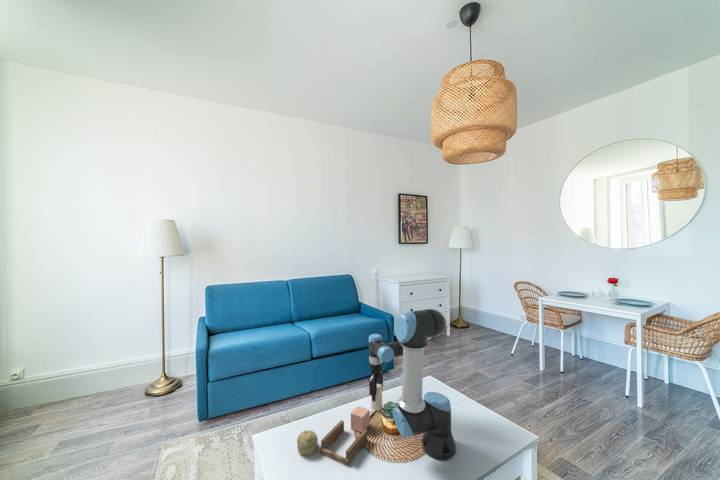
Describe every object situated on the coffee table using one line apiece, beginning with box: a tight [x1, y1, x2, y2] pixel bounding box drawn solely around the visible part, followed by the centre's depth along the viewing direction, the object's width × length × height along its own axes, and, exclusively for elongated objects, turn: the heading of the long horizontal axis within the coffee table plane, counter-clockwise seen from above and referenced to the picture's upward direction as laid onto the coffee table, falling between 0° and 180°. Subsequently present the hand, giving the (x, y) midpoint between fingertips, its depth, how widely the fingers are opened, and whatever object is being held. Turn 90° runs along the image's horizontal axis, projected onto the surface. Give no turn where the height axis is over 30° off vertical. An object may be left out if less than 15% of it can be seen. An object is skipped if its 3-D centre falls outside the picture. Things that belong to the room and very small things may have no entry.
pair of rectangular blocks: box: [350, 383, 383, 433], centre depth 149 cm, size 7×24×13 cm, turn 149°
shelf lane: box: [319, 419, 368, 467], centre depth 129 cm, size 15×17×5 cm
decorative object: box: [296, 429, 319, 457], centre depth 128 cm, size 9×10×10 cm
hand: (376, 403), depth 157 cm, fingers closed on pair of rectangular blocks, 4 cm apart
